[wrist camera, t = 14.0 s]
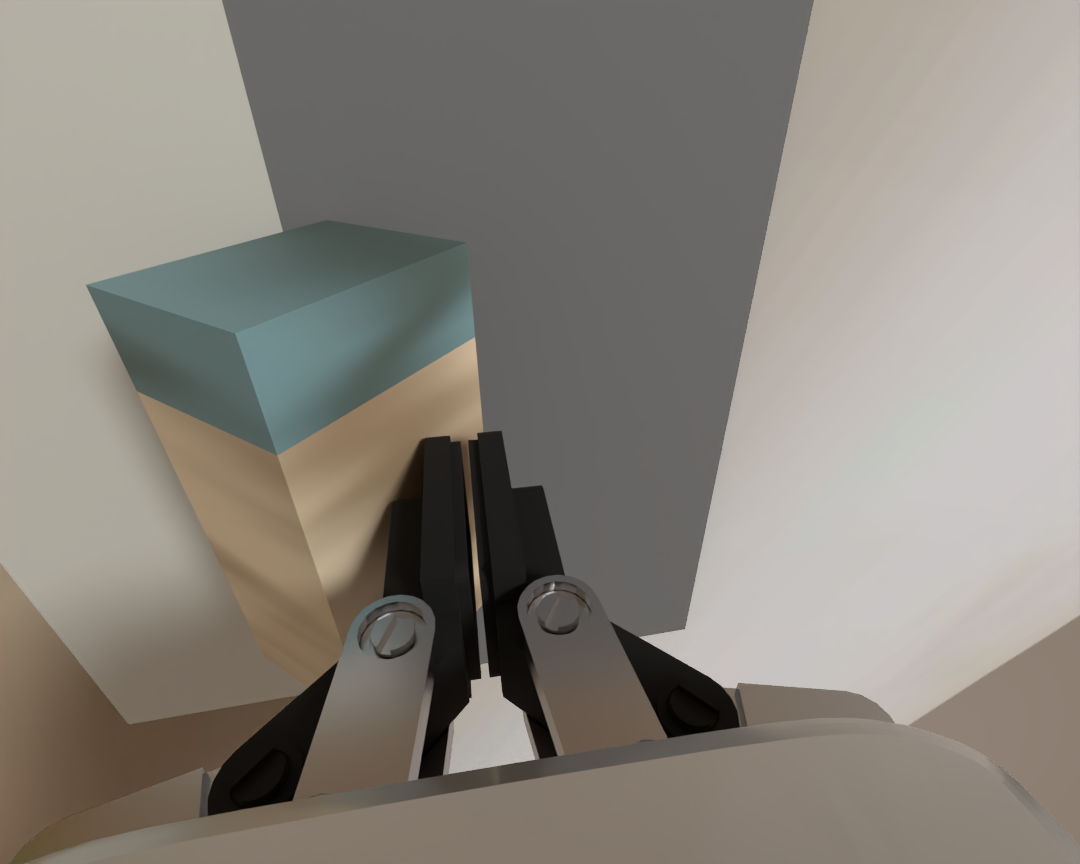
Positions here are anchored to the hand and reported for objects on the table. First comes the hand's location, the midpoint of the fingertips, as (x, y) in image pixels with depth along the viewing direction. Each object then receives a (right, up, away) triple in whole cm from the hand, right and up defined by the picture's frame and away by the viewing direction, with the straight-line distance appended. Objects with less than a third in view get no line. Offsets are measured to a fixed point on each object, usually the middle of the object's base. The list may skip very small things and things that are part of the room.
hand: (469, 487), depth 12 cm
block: (-3, +4, -2) cm, 6 cm away
